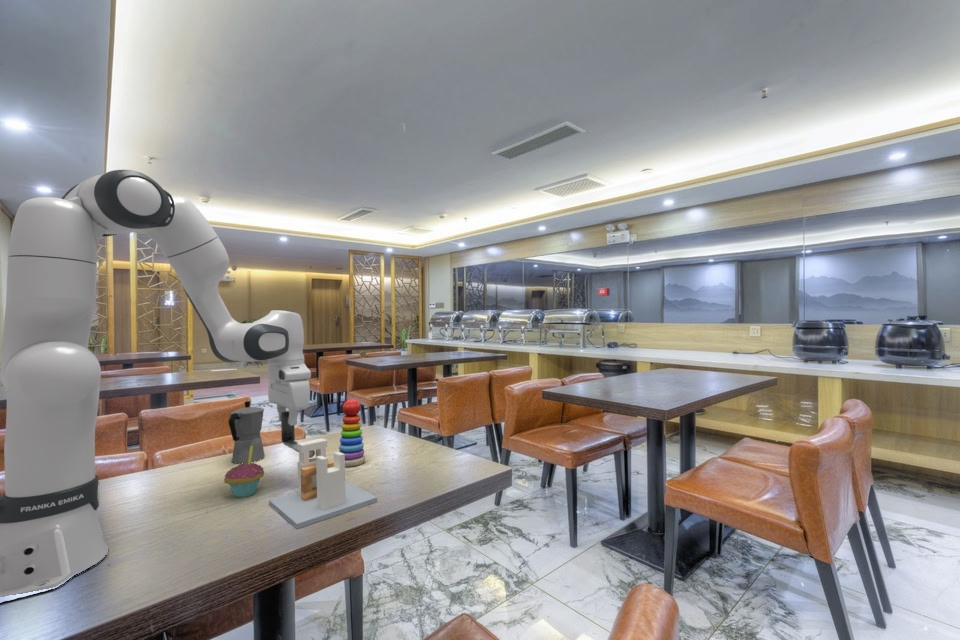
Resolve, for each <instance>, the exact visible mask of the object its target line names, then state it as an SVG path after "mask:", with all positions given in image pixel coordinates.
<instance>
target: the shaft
mask: <svg viewBox="0 0 960 640" xmlns="http://www.w3.org/2000/svg"><path fill="white" fill-rule="evenodd" d="M289 413H290V412H289V410H286V411H284V412H281V421H280V422H281V423H280V427H281V430H280V431H281V432H280V433H281V435H280V436H281V443H283V445H284V446H286V447H287V448H289V449H292V450H293V451H295V452H298V453H299V451H298V450H297V443H299V441H296V435H295V433H296V432H295V431H296V430H295V429H296V428H295V426H296V425H292V426H291V425H289V424H288V418H289ZM314 456H316V450H312V451H309V459H312V458H314Z"/></svg>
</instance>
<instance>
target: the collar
mask: <svg viewBox="0 0 960 640" xmlns="http://www.w3.org/2000/svg"><path fill="white" fill-rule="evenodd" d="M331 467H334V461H331V460H328V462H327V468H331ZM316 474H317V472H316V465H312V466H307V467H303V468H301V499H302V500H304V501H307V500H310V499H314V498H317V487H315V488H312V476H313V475H316Z"/></svg>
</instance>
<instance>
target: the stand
mask: <svg viewBox="0 0 960 640" xmlns="http://www.w3.org/2000/svg"><path fill="white" fill-rule="evenodd" d="M327 448H328V440H327V439H325V438H317V439H312V440H306V441H301V442H298V443H297V450H298V451H299V452H298V461H297V492H293V493H288V494H286V495H282V496H279V497H278V496H277V497H276V498H275V497H274V498H271V499H268V505H269V506H270V507H271V508H272V509H274V510H275V511H276V512H277V513H278V514H280V515H281V516H282V517H283V518H284V519H285V520H286V521H288V523H289V524H291V525H292V526H293V527H294V528H295V529H301V528H304V527H308V526H310V525H313V524H316V523H319V522H322V521H324V520H325V521H326V520H328V519H330V518H333V517H335V516H339V515H342V514H345V513H348V512H350V511H354V510H357V509H359V508H364V507H366V506H368V505H371V504H372V505H373V504H374V503H377V502H378V497H377V496H375V495H374V494H372V493H370V492H368V491H366V490H364V489H362V488H361V487H360V486H357V485H355V484H353V483H351V482H349V481H348V480H346V467H345V454H343V453H341V452H339V451H336V452H333V463H334V467H331V468H327V462H328V461H329V460H328V459H329V458H328V457H327V450H326V449H327ZM312 450H314V451H315V457H312V458H309V451H312ZM312 465H316V472H317V474H316V475H313V476H312V488H315V487H317V498H314V499H310V500H307V501H304V500H302V499H301V468H303V467H307V466H312Z"/></svg>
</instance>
